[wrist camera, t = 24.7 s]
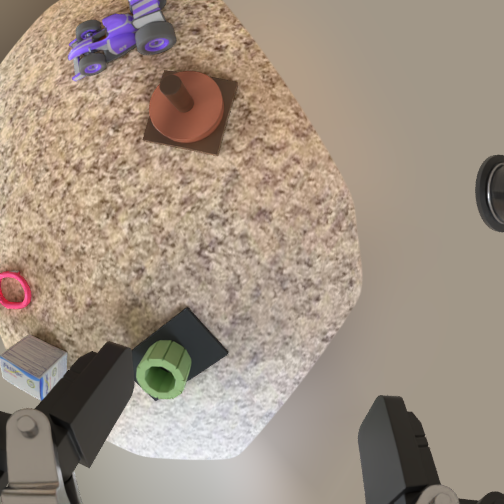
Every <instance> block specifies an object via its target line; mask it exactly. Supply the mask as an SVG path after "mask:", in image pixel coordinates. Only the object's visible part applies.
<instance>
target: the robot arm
mask: <svg viewBox="0 0 504 504" xmlns="http://www.w3.org/2000/svg"><path fill="white" fill-rule="evenodd" d="M485 197H486V203H487V207H488V210H489V212H490V214H491V216H492V217H493V218H494V220H495V221H497V222H498V223H500V224H504V163H498V164H496V165H495V166H493V167H492V169H491V170H490V172H489V174H488V176H487V180H486V186H485ZM133 389H134V371H133V360H132V351H131V349H130V348H129V347H126V346H122V345H119V344H116V343H113V342H110V341H109V342H107V343H106V344H105V345H104V346H103V347H102V348H101V349H100V351H99V352H98V353H96V352H93V351H91V352H89V353H87V354H85V355H83V356H82V357H80V358H78V360H77V361H76V362H75V363H74V364H73V365H72V366H71V367H70V370H68V371H67V372H66V373H65V374H64V375H63V378H61V379H60V380H59V381H58V382H57V383H56V385H55V386H54V387H53V388H52V389H51V390H50V392H49V393H48V394H47V395H46V396H45V398H44V399H43V400H42V401H41V402H40V404H39V405H38V406H37V407H36V408H35V409H32V408H26V409H20V410H18V411H16V412H14V413H13V414H8V413H5V412H1V411H0V496H1V500H2V504H83V503H82V500H81V496H80V492H79V489H78V484H77V481H76V476H75V473H74V470H75V468H76V466H77V465H78V463H80V464H82V465H84V466H86V467H88V468H90V467H91V465H92V463H93V461H94V459H95V458H96V456H97V454H98V452H99V451H100V449H101V447H102V446H103V444H104V442H105V440H106V439H107V437H108V435H109V434H110V432H111V430H112V428H113V427H114V425H115V423H116V422H117V420H118V418H119V416H120V415H121V413H122V411H123V410H124V408H125V406H126V405H127V403H128V401H129V400H130V398H131V396H132V393H133ZM358 444H359V451H360V459H361V465H362V474H363V482H364V489H365V498H366V504H504V494H502V493H500V492H490V493H488V494H487V495H485V496H484V497H483V498H482V499H481V500H479V501H477V500H466V499H459V498H458V497H457V495H456V494H455V492H454V491H453V490H452V489H450V488H449V487H447V486H444V485H441V483H440V481H439V477H438V474H437V471H436V467H435V464H434V461H433V457H432V454H431V451H430V448H429V447H428V442H427V439H426V437H425V433H424V430H423V427H422V424H421V422H420V421H419V420H418V419H417V418H416V416H415V415H414V414H413V413H412V412H407V410H406V407H405V404H404V401H403V399H402V397H400V396H383V395H380V396H378V397H377V398H376V400H375V401H374V403H373V405H372V407H371V409H370V410H369V412H368V414H367V415H366V417H365V419H364V421H363V422H362V424H361V426H360V429H359V433H358ZM8 482H9V484H8ZM7 484H8V487H6V486H7Z"/></svg>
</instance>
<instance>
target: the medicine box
mask: <svg viewBox="0 0 504 504" xmlns="http://www.w3.org/2000/svg"><path fill="white" fill-rule="evenodd" d="M0 361H1V369H2V375H3V378H4V379H6V380H7V381H8V382H10V383H12V384H13V385H15V386H16V387H18V388H20V389H21V390H23V391H25V392H26V393H28V394H30V395H32V396H33V397H35V398H37V399H39V400H41V401H42V400H43V399H44V398H45V396H46V395H47V394H48V393H49V392H50V390H51V389H52V388H53V387H54V386H55V385H56V383H57V382H58V381H59V380H60V379H61V378H63V375H64V374H65V373H66V372H67V352H65V351H63V350H61V349H59V348H57V347H54V346H52V345H50V344H48V343H46V342H44V341H42V340H40V339H38V338H36V337H34V336H32V335H31V334H29V335H27V336H26V337H24V338H23V339H21V340H20V341H19V342H17V343H16V344H14V345H13V346H12V347H10V348H9V349H7V350H6V351H5V352H3V353H2V354H1V355H0Z"/></svg>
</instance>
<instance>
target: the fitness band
mask: <svg viewBox="0 0 504 504" xmlns="http://www.w3.org/2000/svg"><path fill="white" fill-rule="evenodd" d="M5 277H12V278H15V279H17V280H18V281H19V282H20V283H21V285H22V286H23V288H24V292H25V299H24V301H23V302H9V301H8V300H6V299H5V297H4V296H3V294H2V291H1V280H2V278H5ZM30 301H31V290H30V287H29V285H28V283H27V282H26V280H25V279H24V278H23V277H22V276H21V275H20V271H6V272H3V273H0V303H1V304H2V305H3V306H4V307H6V308H11V309H21V308H24V307H26V306H27V305H28V304H29V303H30Z"/></svg>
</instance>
